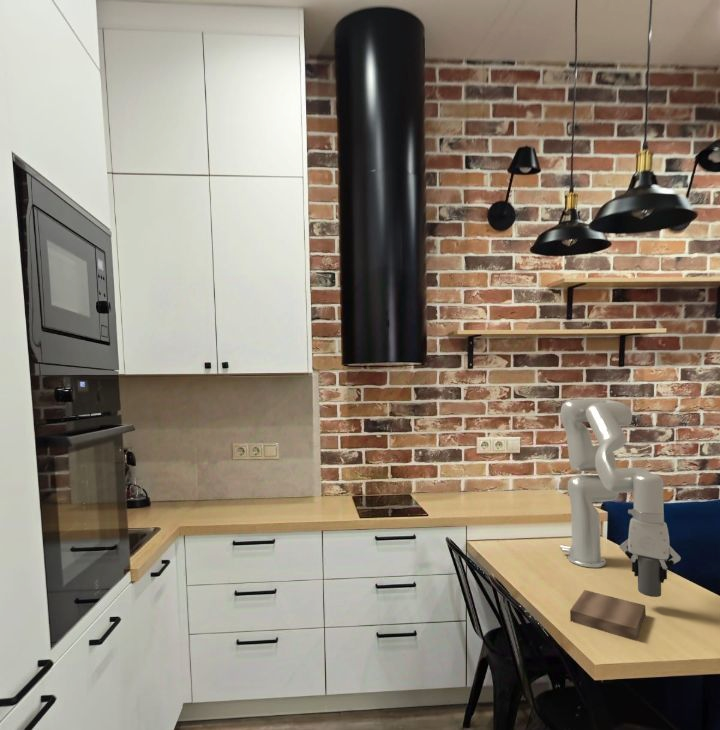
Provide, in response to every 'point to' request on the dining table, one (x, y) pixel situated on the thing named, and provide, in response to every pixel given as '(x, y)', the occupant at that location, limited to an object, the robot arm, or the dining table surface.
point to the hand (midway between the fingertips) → (649, 577)
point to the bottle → (649, 576)
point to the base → (609, 614)
